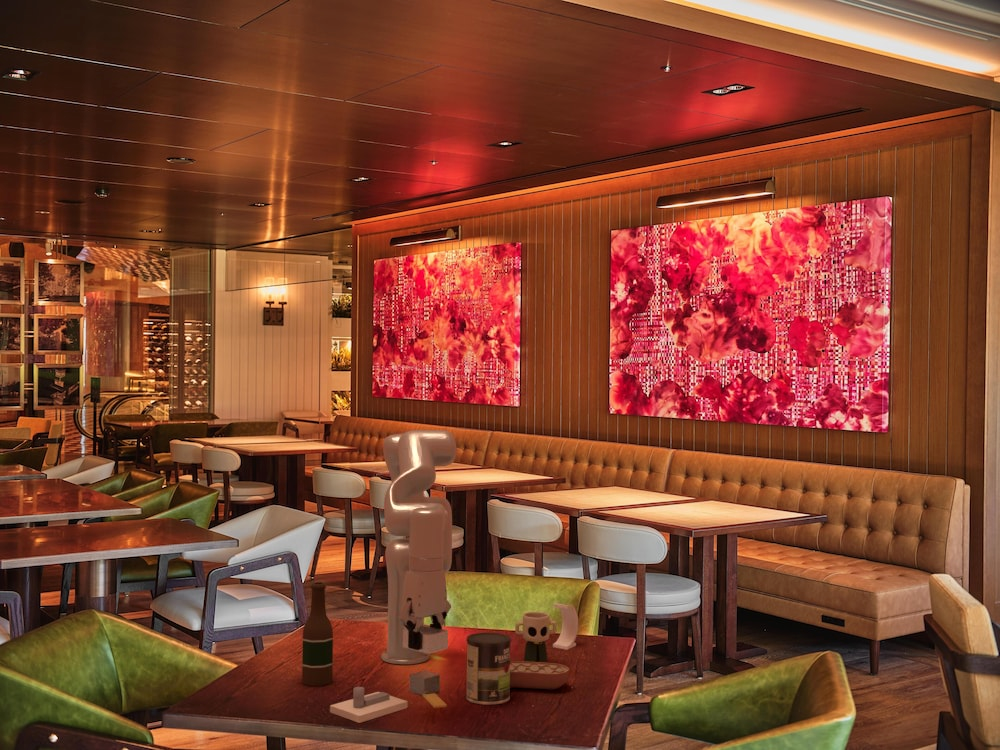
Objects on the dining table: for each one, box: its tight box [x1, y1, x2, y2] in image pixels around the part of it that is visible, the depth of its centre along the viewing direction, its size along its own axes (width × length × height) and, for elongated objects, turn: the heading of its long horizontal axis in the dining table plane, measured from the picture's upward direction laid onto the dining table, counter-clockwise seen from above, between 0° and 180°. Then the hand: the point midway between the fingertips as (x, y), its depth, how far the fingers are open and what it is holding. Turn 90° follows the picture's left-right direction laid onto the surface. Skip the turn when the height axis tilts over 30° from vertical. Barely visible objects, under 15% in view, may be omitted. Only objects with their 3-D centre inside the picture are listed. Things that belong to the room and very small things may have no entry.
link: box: [403, 624, 449, 655], centre depth 227 cm, size 6×8×4 cm
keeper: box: [329, 686, 408, 724], centre depth 229 cm, size 14×10×6 cm
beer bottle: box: [301, 581, 334, 687], centre depth 250 cm, size 8×8×24 cm
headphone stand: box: [552, 602, 579, 651], centre depth 286 cm, size 5×6×12 cm
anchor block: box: [409, 670, 441, 697], centre depth 243 cm, size 5×5×4 cm
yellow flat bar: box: [422, 693, 448, 709], centre depth 236 cm, size 9×3×1 cm, turn 21°
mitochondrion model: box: [510, 660, 570, 691], centre depth 248 cm, size 23×10×5 cm, turn 87°
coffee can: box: [465, 632, 512, 706], centre depth 239 cm, size 10×10×14 cm
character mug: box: [514, 611, 558, 663], centre depth 267 cm, size 11×7×13 cm, turn 99°
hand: (425, 645), depth 227 cm, fingers closed on link, 6 cm apart
